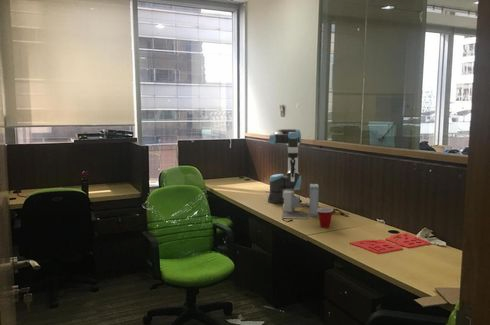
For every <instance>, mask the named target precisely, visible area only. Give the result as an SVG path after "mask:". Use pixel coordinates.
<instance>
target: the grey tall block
mask: <svg viewBox="0 0 490 325" xmlns="http://www.w3.org/2000/svg"><path fill="white" fill-rule="evenodd" d="M319 188H320V187H319V184H318V183H309V211H308V212H309V217H310V218H311V217H316V218H317V217H318V218H319V214H318V211H317V209H319V194H320V190H319Z"/></svg>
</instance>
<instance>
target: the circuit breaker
mask: <svg viewBox="0 0 490 325" xmlns="http://www.w3.org/2000/svg"><path fill="white" fill-rule="evenodd" d="M283 198H284V203H282V204H283V205H282V212H283V213H294V210H295V208H300V205H301V203H302V202H303V200H302V199H301V196H300V195H295V190H283Z"/></svg>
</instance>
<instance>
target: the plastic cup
mask: <svg viewBox="0 0 490 325" xmlns="http://www.w3.org/2000/svg"><path fill="white" fill-rule="evenodd" d="M317 211H318V218H319V219H318V220H319V225H320V228H324V229H329V228H330V226H331V221H332V217H333V216H332V215H333V212H334V208H332V207H325V206H324V207H318V209H317Z"/></svg>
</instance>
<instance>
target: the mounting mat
mask: <svg viewBox="0 0 490 325" xmlns="http://www.w3.org/2000/svg"><path fill="white" fill-rule="evenodd" d="M281 215H282V216H281V219H285V220H286V219H287V218H291V219H293V220H308V213H307V212H282V214H281ZM291 219H290V220H291ZM287 220H288V219H287Z"/></svg>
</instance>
